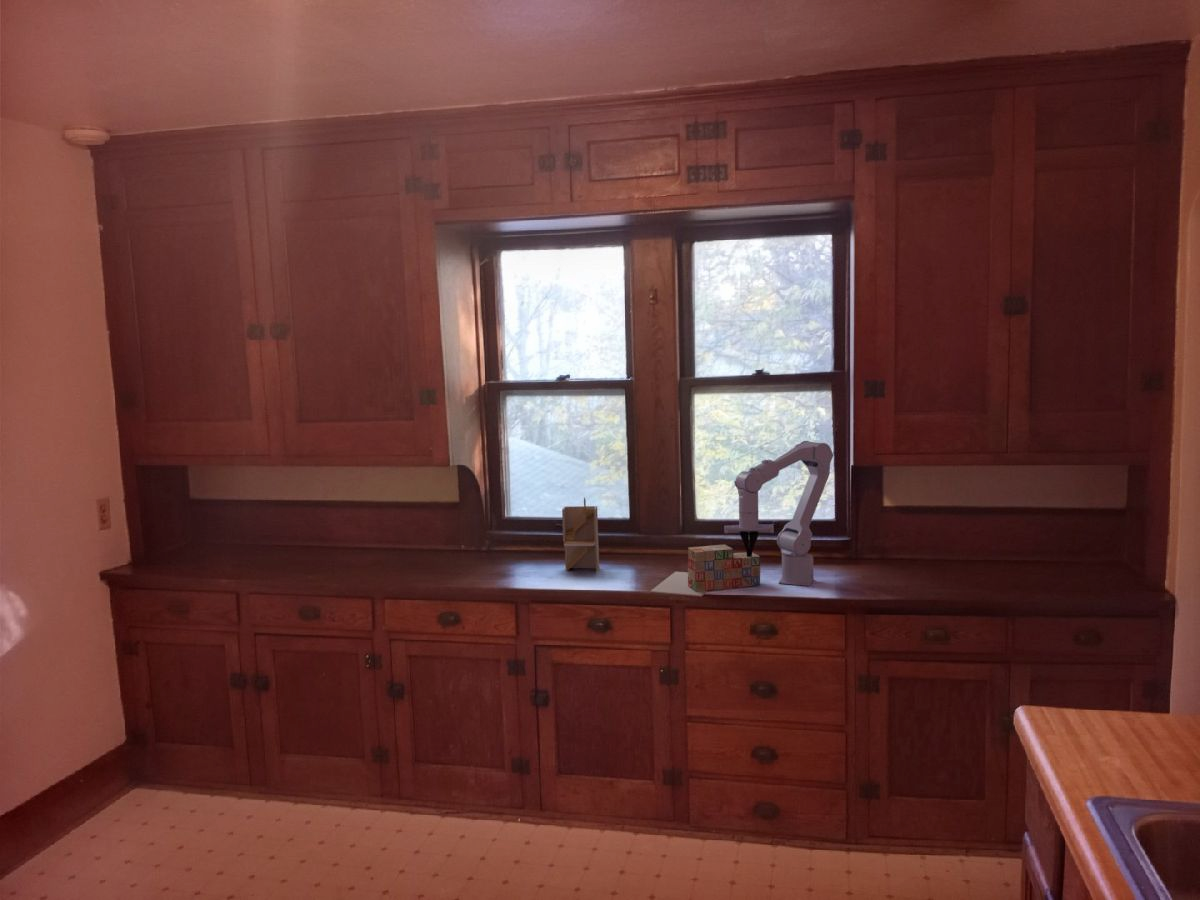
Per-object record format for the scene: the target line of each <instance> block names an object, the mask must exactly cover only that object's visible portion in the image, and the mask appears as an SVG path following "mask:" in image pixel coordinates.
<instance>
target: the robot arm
mask: <svg viewBox="0 0 1200 900" xmlns="http://www.w3.org/2000/svg"><path fill="white" fill-rule="evenodd" d="M833 457H834V453H833V451H832V449H831V446H830V444H828V443H826V442H815V441H809V440H803V441H801V442H799V443H797V444H795V445H794V447H793V448H791V449H789V450H788V451H786V452H785V453H784V454H782V455H780V456H779V457H777V458H775V460H772V459H763V460H761V463H759V464H758V465H756V466H754V467H750V468H749V469H748V471H746V470H745V471H744V470H743V471H741V472H739V473H738V474H737V476H736V478H735V480H734V487H736V489H737V494H738V514H739V515H738V523H739V524H732V525H724V529H723V530H724V534H730V533H731V534H732V533H733V534H738V533H739V535H740V538H741V540H742V542H743V545H744V547H745V552H746V553H747V557H752V552H753V551H754V547H755V544H756V542H757V541H758V538H759V533H770V534H773V533H775V530H774V529H775V527H774V525H771V524H759V491H760V490H761V489H762V487H763V485H765V484H766V483H768V482H770V481H772V480H773V479H775V478H777V477H778V476H779V474H780V471H781V470H783V469H786V468H788V467H789V466H791V465H794V464H795V463H798V462H800V461H801V462H802V464H803V465H805V467H806V469H808V472H809V476H808V479H807V481H806V483H805V487H804V489H803V490H802V491H803V492H802V494H801V496H800V499H799V500H798V503H797V506H796V509H795V512H794V513H793V514H794V515H793V517H792V520H790V521H788V522H787V523H786V524H784V526H783V528H782V530H781V531H779V533H778V534H777V537H776V544H777V546H778V548H779V549H780V553H781V578H780V579H779V581H778V584H780V583H781V584H782V585H793V586H795V585H796V586H805V587H806V586H811V585H812V583H813V581H814V579H815V578H814V556H813V554H808V552H809V551H810V549H811V546H812V543H811V541H812V537H813V532H812V531H811V529H810V525H811V523H812V520H813V518H814V514H815V513H816V510H817V507H818V505H819V502H820V500H821V497H822V494H823V492H824V490H825V487H826V485H827V482H828V479H829V477H830V474H831V472H830V471H831V462H832V459H833Z"/></svg>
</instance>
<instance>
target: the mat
mask: <svg viewBox="0 0 1200 900" xmlns="http://www.w3.org/2000/svg"><path fill="white" fill-rule="evenodd" d="M707 592H709V590H707V591H694V590H693V589H691V588H690V587H689V586H688V571H687V572H685V571H674V572H673V573H672V574H671V575H668V577H667V578H664V580H663V581H661V582H660V583H659V584H657V585H656V586H655V587H654V588H652V589H651V590H650V593H653V594H654V593H655V594H665V595H666V594H667V595H679V596H688V597H698V598H699V597H701V598H702V597H704V595H705V594H706V593H707Z"/></svg>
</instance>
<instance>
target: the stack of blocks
mask: <svg viewBox="0 0 1200 900" xmlns="http://www.w3.org/2000/svg"><path fill="white" fill-rule="evenodd" d="M687 548H688V549H687V550H688V551H687V556H688V557H687V572H688V586H689V587H690V588H691V589H693V590H694V591H707V590H708V591H715V590H716V591H717V590H724V589H734V588H745V587H756V586H758V587H759V586H760V585H761V555H759V554H756V553H754V552H753V551H752V557H747V553H746V551H745V552H734V548H732V547H730V546H728V545H727V544H714V545H705V546H704V545H703V546H691V547H687ZM708 591H707V592H708Z"/></svg>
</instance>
